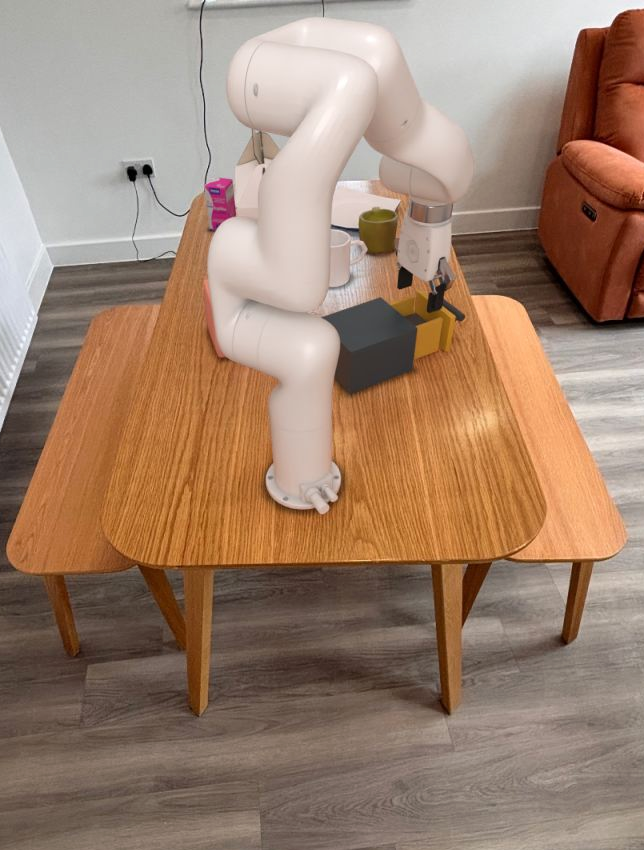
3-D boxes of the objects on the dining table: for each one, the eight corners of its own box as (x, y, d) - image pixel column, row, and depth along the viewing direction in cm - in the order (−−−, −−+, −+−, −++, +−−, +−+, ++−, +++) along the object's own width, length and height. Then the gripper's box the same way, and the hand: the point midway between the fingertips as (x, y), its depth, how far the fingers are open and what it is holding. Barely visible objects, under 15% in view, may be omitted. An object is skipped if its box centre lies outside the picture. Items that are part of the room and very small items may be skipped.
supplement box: (209, 231, 167) (202, 185, 158) (217, 220, 170) (211, 175, 162) (229, 233, 165) (224, 188, 157) (238, 223, 169) (233, 178, 160)
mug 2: (402, 253, 153) (392, 209, 147) (360, 263, 156) (350, 221, 151) (406, 238, 162) (398, 197, 157) (367, 248, 166) (358, 208, 160)
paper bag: (242, 238, 164) (229, 116, 142) (293, 234, 164) (288, 112, 143) (243, 284, 149) (229, 155, 128) (300, 280, 150) (295, 151, 128)
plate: (405, 209, 172) (406, 199, 170) (369, 241, 161) (369, 231, 159) (339, 193, 179) (339, 183, 177) (300, 223, 168) (300, 213, 166)
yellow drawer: (434, 316, 137) (439, 282, 131) (468, 343, 130) (475, 309, 124) (363, 342, 132) (364, 308, 126) (394, 371, 125) (397, 337, 119)
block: (426, 342, 129) (429, 323, 126) (408, 348, 128) (410, 329, 124) (413, 331, 132) (415, 312, 128) (395, 337, 130) (397, 318, 127)
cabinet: (377, 338, 134) (380, 296, 126) (412, 370, 126) (417, 328, 119) (317, 360, 129) (316, 318, 122) (349, 394, 122) (351, 352, 115)
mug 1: (367, 286, 147) (369, 244, 140) (315, 288, 147) (315, 247, 140) (364, 268, 152) (366, 227, 145) (314, 270, 152) (313, 229, 145)
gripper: (384, 194, 114) (377, 283, 127) (443, 233, 104) (429, 326, 117) (418, 185, 116) (409, 274, 129) (479, 222, 106) (462, 314, 119)
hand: (418, 298), depth 123 cm, fingers open, 9 cm apart
